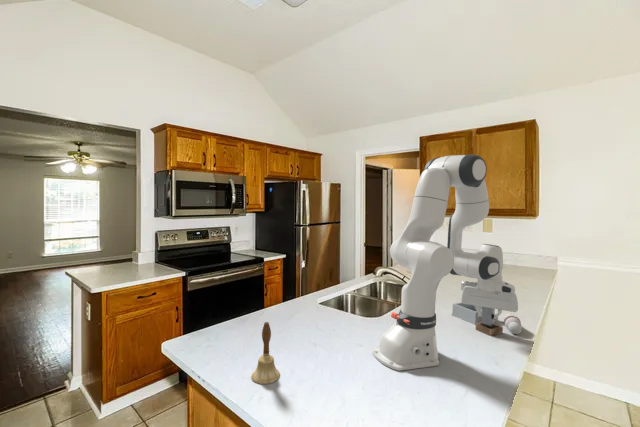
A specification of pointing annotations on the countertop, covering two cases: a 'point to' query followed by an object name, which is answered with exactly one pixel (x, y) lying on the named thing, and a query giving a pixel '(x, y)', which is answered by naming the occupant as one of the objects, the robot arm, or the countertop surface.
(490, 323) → the strut
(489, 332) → the socket ring
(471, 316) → the tub
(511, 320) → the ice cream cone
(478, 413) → the countertop surface
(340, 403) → the countertop surface
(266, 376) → the hand bell
